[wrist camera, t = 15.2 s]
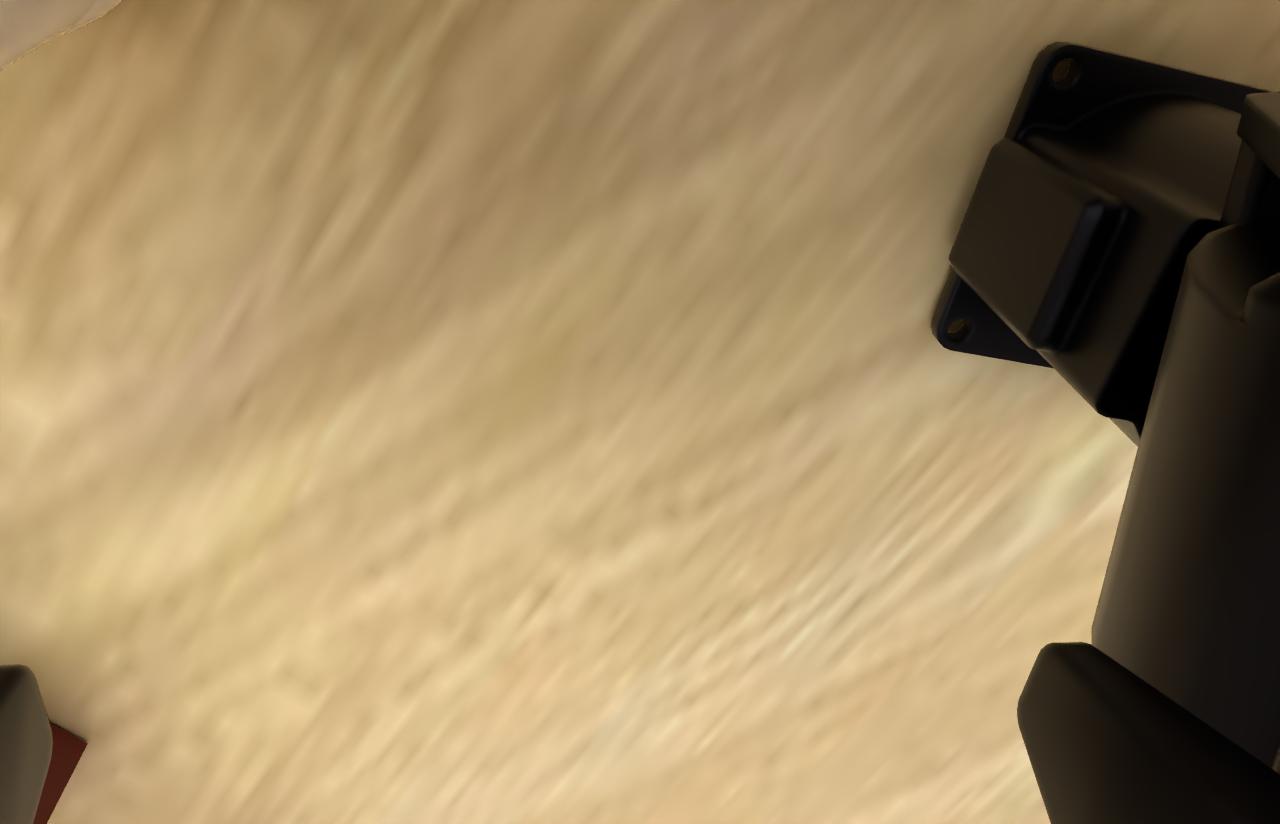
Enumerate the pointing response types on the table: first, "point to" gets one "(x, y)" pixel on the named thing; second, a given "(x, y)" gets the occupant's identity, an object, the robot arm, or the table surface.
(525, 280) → the table surface
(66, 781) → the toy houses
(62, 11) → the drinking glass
